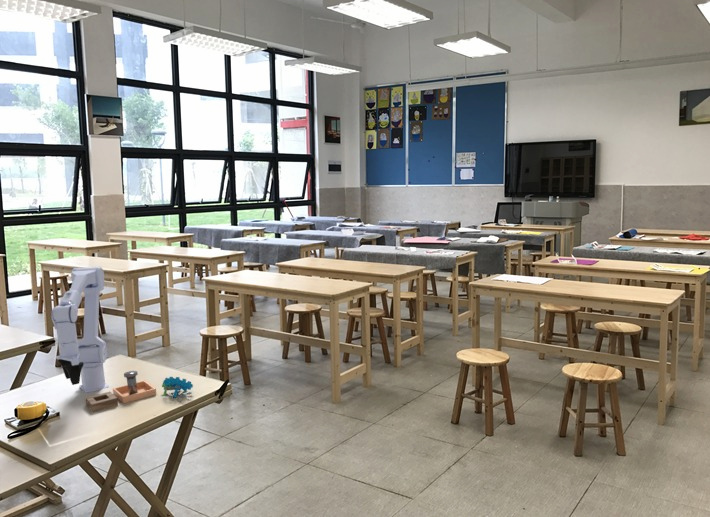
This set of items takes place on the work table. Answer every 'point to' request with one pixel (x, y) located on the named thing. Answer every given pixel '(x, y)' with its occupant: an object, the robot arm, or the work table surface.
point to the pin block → (101, 401)
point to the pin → (131, 381)
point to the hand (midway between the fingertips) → (72, 380)
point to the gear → (176, 385)
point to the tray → (143, 392)
